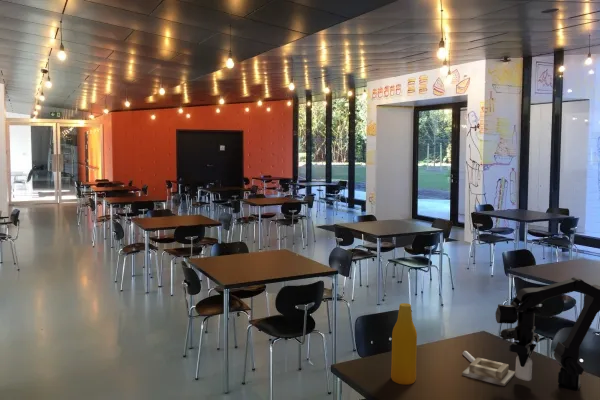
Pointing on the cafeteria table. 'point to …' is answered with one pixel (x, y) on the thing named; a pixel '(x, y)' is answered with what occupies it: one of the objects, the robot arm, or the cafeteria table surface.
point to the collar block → (489, 371)
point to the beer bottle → (404, 347)
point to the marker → (468, 356)
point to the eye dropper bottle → (524, 370)
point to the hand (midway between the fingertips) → (523, 364)
